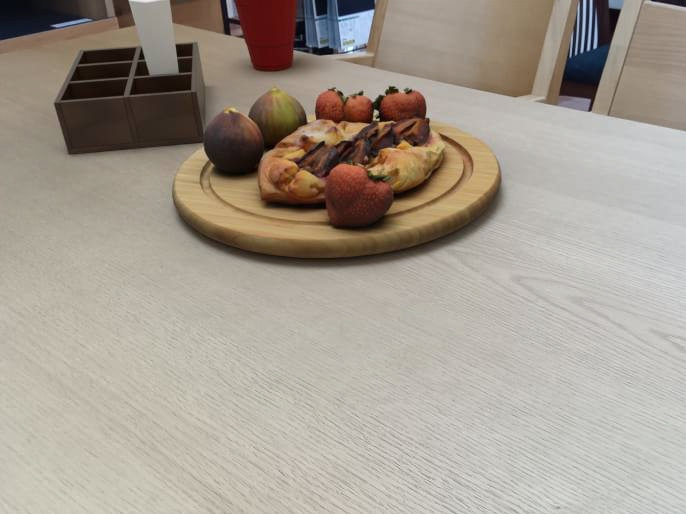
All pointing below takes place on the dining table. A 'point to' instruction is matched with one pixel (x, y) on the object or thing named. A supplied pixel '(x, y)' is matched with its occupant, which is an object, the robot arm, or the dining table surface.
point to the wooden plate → (334, 176)
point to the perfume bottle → (156, 35)
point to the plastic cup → (268, 31)
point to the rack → (131, 101)
